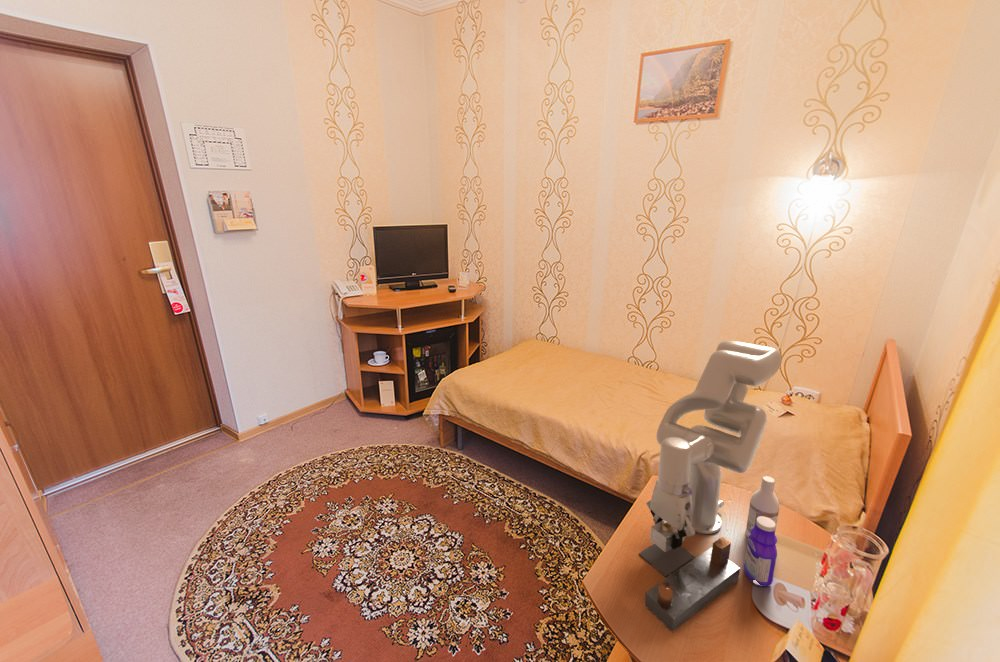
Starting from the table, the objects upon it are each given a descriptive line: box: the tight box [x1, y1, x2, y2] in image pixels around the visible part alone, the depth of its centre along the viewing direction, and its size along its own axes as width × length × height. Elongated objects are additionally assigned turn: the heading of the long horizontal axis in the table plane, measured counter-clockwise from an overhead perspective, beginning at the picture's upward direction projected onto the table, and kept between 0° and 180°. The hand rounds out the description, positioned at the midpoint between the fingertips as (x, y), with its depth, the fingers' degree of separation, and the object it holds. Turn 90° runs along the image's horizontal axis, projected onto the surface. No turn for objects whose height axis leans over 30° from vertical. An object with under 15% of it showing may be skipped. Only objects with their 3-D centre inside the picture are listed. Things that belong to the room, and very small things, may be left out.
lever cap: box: [649, 520, 686, 552], centre depth 112 cm, size 8×5×5 cm, turn 120°
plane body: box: [644, 536, 741, 633], centre depth 102 cm, size 26×8×10 cm, turn 120°
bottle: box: [743, 516, 778, 587], centre depth 104 cm, size 7×6×17 cm
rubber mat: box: [638, 543, 696, 578], centre depth 114 cm, size 12×9×1 cm
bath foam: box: [745, 475, 780, 538], centre depth 117 cm, size 7×7×20 cm
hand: (667, 539), depth 113 cm, fingers closed on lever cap, 5 cm apart
